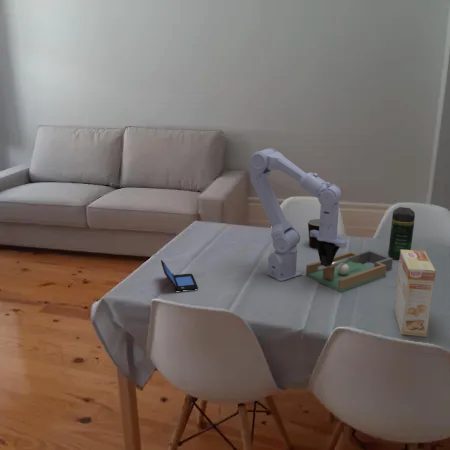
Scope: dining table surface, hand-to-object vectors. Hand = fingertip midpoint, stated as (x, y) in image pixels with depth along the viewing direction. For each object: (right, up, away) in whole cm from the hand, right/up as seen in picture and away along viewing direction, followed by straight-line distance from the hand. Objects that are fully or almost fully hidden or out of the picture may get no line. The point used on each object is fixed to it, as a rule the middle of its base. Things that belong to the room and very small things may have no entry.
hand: (326, 262), depth 170 cm
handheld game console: (-49, -8, +2) cm, 49 cm away
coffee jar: (+32, 0, +25) cm, 41 cm away
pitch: (+11, -5, +10) cm, 15 cm away
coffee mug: (+4, +4, +36) cm, 37 cm away
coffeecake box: (+19, -16, -23) cm, 34 cm away
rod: (+5, -4, +5) cm, 9 cm away
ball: (+7, -3, +6) cm, 9 cm away
